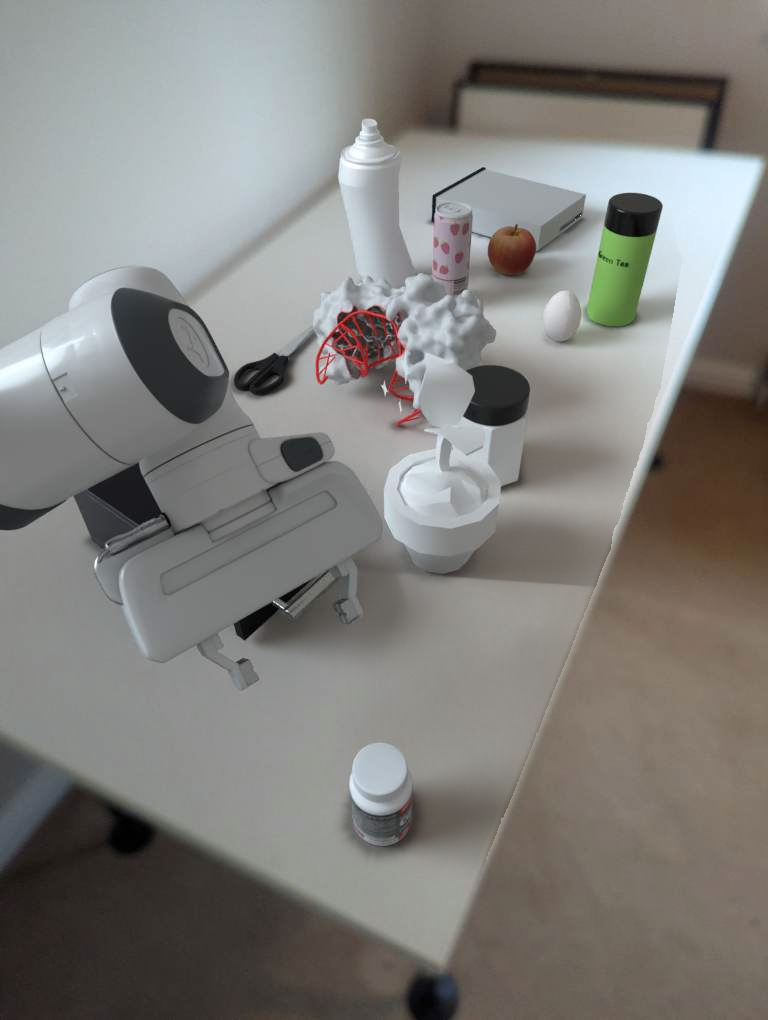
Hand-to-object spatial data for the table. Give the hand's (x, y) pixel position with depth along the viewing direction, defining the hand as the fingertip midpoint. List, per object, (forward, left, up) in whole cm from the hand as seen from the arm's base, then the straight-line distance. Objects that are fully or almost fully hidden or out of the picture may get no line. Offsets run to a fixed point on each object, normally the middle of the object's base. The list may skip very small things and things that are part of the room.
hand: (303, 651), depth 55 cm
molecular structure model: (+43, +24, -12) cm, 51 cm away
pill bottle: (-2, -9, -12) cm, 16 cm away
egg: (+69, +14, -12) cm, 72 cm away
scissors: (+41, +43, -12) cm, 61 cm away
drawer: (+8, +16, -11) cm, 21 cm away
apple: (+83, +31, -12) cm, 90 cm away
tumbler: (+80, +11, -12) cm, 82 cm away
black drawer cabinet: (+8, +27, -12) cm, 31 cm away
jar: (+38, +7, -12) cm, 41 cm away
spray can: (+66, +45, -12) cm, 81 cm away
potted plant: (+23, +3, -12) cm, 27 cm away
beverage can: (+68, +33, -12) cm, 77 cm away
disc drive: (+100, +42, -12) cm, 110 cm away
